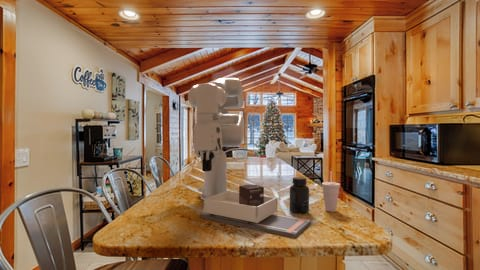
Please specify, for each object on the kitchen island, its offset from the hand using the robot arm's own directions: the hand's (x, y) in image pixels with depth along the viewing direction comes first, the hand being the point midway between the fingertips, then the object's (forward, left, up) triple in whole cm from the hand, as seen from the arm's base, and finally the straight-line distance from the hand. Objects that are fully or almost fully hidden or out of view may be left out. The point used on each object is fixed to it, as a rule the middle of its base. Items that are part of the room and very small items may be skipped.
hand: (206, 170), depth 100 cm
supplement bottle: (+28, +17, -15) cm, 36 cm away
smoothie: (+37, +25, -15) cm, 47 cm away
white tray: (+14, 0, -13) cm, 19 cm away
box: (+18, +1, -11) cm, 21 cm away
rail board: (+19, 0, -15) cm, 24 cm away
